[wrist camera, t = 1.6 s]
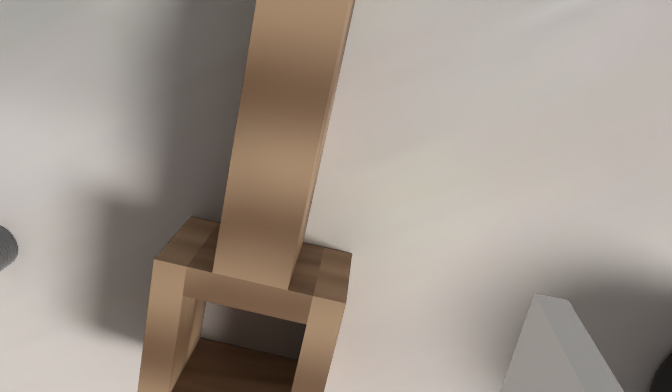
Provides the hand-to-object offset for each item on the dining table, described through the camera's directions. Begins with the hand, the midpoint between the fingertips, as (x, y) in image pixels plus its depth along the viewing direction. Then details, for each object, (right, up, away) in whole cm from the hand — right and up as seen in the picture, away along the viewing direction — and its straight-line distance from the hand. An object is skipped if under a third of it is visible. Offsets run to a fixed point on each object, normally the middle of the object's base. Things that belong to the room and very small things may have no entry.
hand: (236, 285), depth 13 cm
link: (0, +4, +14) cm, 15 cm away
